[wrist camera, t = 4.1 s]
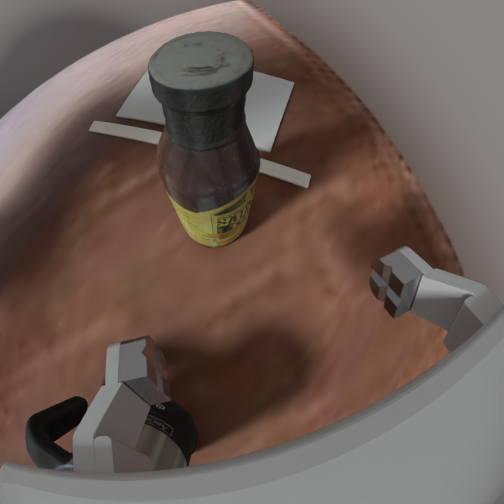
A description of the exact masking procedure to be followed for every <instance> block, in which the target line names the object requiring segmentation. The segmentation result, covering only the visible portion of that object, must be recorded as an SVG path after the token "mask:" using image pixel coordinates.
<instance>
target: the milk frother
mask: <svg viewBox="0 0 504 504" xmlns="http://www.w3.org/2000/svg"><path fill="white" fill-rule="evenodd" d="M150 406H151V407H150V410H149V412H148V415H147V418H146V420H145V423H144V425H143V428H142V431H141V433H140V436H139V439H138V441H137V444H136V447H135V450H137V451H139V452H141V453H143V454H145V455H147V456H148V457H149V460H150V465H151V471H157V470H166V469H174V468H182V467H188V466H189V462H190V458H191V455H192V453H193V452H194V450H195V448H196V445H197V431H196V428H195V425H194V423H193V421H192V420H191V418H190V417H189V415H188V414H187V413H186V412H185V411H184V410H183V409H182V408H180V407H179V406H178V405H176V404H175V403H173V402H171V401H168V402H163V403H159V404H155V405H150ZM87 407H88V404H87V401H86V399H84V398H81V397H79V396H75V397H72V398H70V399H67V400H65V401H63V402H61V403H59V404H56V405H54V406H52V407H49V408H47V409H45V410H43V411H40V412H38V413H36V414H34V415H32V416H31V417H30V418H29V419H28V421H27V425H26V446H27V450H28V453H29V455H30V457H31V459H32V461H33V462H34V463H35V464H36V466H37V467H40V468H47V469H55V470H64V471H74V468H73V452H72V453H69V452H67V451H66V450H64V449H63V448H61V447H60V446H58V445H57V444H56V443H54V441H56V440H57V439H59V438H60V437H62V436H63V435H65V434H66V433H67V432H69V431H70V430H72V429H73V428H75V427H76V426H77V425H79V424H80V422H81V421H82V419H83V417H84V415H85V414H86V412H87Z"/></svg>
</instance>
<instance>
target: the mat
mask: <svg viewBox="0 0 504 504" xmlns="http://www.w3.org/2000/svg"><path fill="white" fill-rule="evenodd" d="M293 86H294V82H291V81H288V80H284V79H281V78H277V77H274V76H270V75H267V74H263V73H259V72H255V71H253V82H252V86H251V87H250V89H249V91H248V92H247V93H246V102H245V115H246V124H247V126H248V128H249V131H250V133H251V136H252V138H253V141H254V143H255V146H256V147H257V149H259V150H263V151H266V152H269V153H270V151H271V148H272V145H273V142H274V139H275V137H276V134H277V131H278V128H279V125H280V122H281V119H282V117H283V114H284V111H285V108H286V105H287V102H288V100H289V97H290V94H291V91H292V88H293ZM116 116H117V117H121V118H127V119H133V120H139V121H145V122H150V123H155V124H160V125H165V116H164V114H163V108H162V104H161V103H159V101H158V100H157V99H156V98H155V96H154V94H153V92H152V88H151V83H150V80H149V73H148V70H147V72H146V73H145V74H144V75H143V77H142V78H141V79H140V81H139V82H138V84H137V85H136V86H135V88H134V89H133V91H132V92H131V93H130V95H129V96H128V98H127V99H126V101H125V102H124V104H123V105H122V107H121V108H120V110H119V111H118V113H117V114H116Z"/></svg>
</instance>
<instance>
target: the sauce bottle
mask: <svg viewBox="0 0 504 504" xmlns="http://www.w3.org/2000/svg"><path fill="white" fill-rule="evenodd" d="M253 70H254V56H253V52H252V50H251V49H250V48H249V47H248V46H247V44H246V43H244V42H243V41H242V40H240V39H239V38H237V37H236V36H233V35H230V34H227V33H221V32H211V31H208V32H196V33H191V34H186V35H182V36H179V37H176V38H174V39H172V40H170V41H169V42H167V43H165V44H163V45H162V46H161V47H160V48H159V49H158V50H157V51H156V52H155V53H154V54H153V55H152V57H151V58H150V61H149V63H148V73H149V80H150V83H151V88H152V92H153V94H154V96H155V98H156V99H157V100H158V101H159V103H161V104H162V108H163V114H164V116H165V126H164V129H163V131H162V134H161V137H160V139H159V143H158V146H157V163H158V169H159V173H160V175H161V177H162V178H163V183H164V186H165V189H166V191H167V193H168V195H169V198H170V200H171V202H172V204H173V206H174V208H175V210H176V212H177V214H178V216H179V218H180V221H181V223H182V225H183V227H184V228H185V230H186V232H187V233H188V235H189V236H190V237H191V238H192V239H194V240H195V241H196V242H197V243H199V244H200V245H202V246H205V247H208V248H217V247H224V246H227V245H228V244H230V243H231V242H233V241H234V240H235V239H236V238H237V237H239V235H240V234H241V233H242V231H243V230H244V228H245V226H246V223H247V219H248V215H249V210H250V206H251V203H252V198H253V195H254V190H255V186H256V181H257V177H258V173H259V169H260V154H259V151H258V149H257V147H256V146H255V143H254V141H253V138H252V136H251V133H250V131H249V128H248V126H247V124H246V115H245V102H246V93H247V92H248V91H249V89H250V87H251V86H252V82H253Z"/></svg>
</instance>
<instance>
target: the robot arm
mask: <svg viewBox="0 0 504 504" xmlns="http://www.w3.org/2000/svg"><path fill="white" fill-rule="evenodd" d="M372 268H373V270H374V272H373V273H372V275H371V276H370V287H371V291H372V293H373V294H374V296H375V297H376V298H377V299H378V300H381V301H383V302H384V308H385V309H386V310H387V312H388V313H389V314H390V315H391V317H392V318H393V319H395V318H397V317H399V316H401V315H403V314H404V313H406V312H408V311H410V310H411V311H410V312H412V313H414V314H416V315H418V316H420V317H422V318H424V319H426V320H428V321H430V322H432V323H433V324H435V325H437V326H439V327H441V328H443V329H445V330H447V331H448V333H447V335H446V337H445V338H444V342H443V343H444V345H445V346H446V347H447V348H448V350H449V351H450V352H451V353H450V354H449V355H447V356H446V357H445V358H443V359H442V360H441V361H439V362H438V363H437V364H435V365H434V366H432V367H431V368H430V369H428V370H427V371H425V372H424V373H422V374H421V375H419V376H418V377H416V378H415V379H413V380H412V381H410V382H409V383H407V384H406V385H404V386H402V387H401V388H399V389H397V390H396V391H394V392H392V393H391V394H389V395H387V396H386V397H384V398H382V399H380V400H379V401H377V402H375V403H373V404H371V405H369V406H367V407H366V408H364V409H362V410H360V411H358V412H356V413H354V414H352V415H350V416H348V417H346V418H343V419H341V420H339V421H337V422H335V423H332V424H330V425H328V426H326V427H323V428H321V429H319V430H316V431H314V432H311V433H309V434H306V435H304V436H301V437H298V438H296V439H293V440H290V441H287V442H284V443H281V444H278V445H275V446H272V447H269V448H266V449H263V450H259V451H256V452H252V453H249V454H245V455H241V456H237V457H233V458H229V459H225V460H220V461H216V462H211V463H206V464H200V465H194V466H188V467H182V468H174V469H166V470H157V471H151V465H150V460H149V457H148V456H147V455H145V454H143V453H141V452H139V451H137V450H135V447H136V444H137V441H138V439H139V436H140V433H141V431H142V428H143V425H144V423H145V420H146V418H147V415H148V412H149V410H150V407H151V406H150V405H155V404H159V403H163V402H168V401H172V398H171V390H170V384H169V383H168V382H167V381H166V379H165V378H166V377H167V375H168V367H167V363H166V360H165V357H164V355H163V353H162V352H161V350H160V349H159V348H156V347H154V341H153V340H152V338H151V337H150V336H143V337H139V338H135V339H130V340H126V341H122V342H118V343H114V344H109V346H108V348H107V360H106V378H105V385H104V386H101V388H100V390H99V391H98V393H97V395H96V396H95V398H94V400H93V402H92V403H91V405H90V407H89V408H88V410H87V412H86V414H85V415H84V417H83V419H82V421H81V422H80V424H79V426H78V428H77V430H76V431H75V433H74V435H73V468H74V471H64V470H55V469H47V468H40V467H34V466H29V465H24V464H19V463H15V462H5V463H4V464H3V465H2V467H1V468H0V504H504V304H503V303H502V302H501V301H500V300H499V299H498V298H497V297H496V296H495V295H494V294H493V293H492V292H491V291H490V290H489V289H488V288H487V287H486V286H485V285H484V284H481V283H478V282H475V281H473V280H470V279H467V278H464V277H461V276H458V275H455V274H452V273H449V272H446V271H443V270H440V269H437V268H436V269H433V268H432V267H430V266H429V265H428V264H427V263H426V262H425V261H424V260H423V259H422V258H421V257H419V256H418V255H417V254H416V253H415V252H414V251H413V250H412V249H410V248H409V247H407V246H403V247H401V248H399V249H396V250H395V251H391V252H389V253H387V254H384V255H382V256H380V257H377V258H375V259H374V260H373V262H372Z"/></svg>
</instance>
